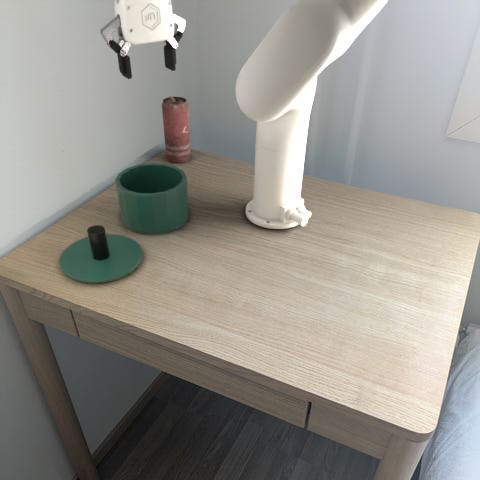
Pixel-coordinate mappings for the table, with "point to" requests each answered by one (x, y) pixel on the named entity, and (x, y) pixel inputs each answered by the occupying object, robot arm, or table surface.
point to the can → (176, 129)
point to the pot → (153, 198)
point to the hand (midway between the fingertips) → (149, 72)
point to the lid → (100, 256)
